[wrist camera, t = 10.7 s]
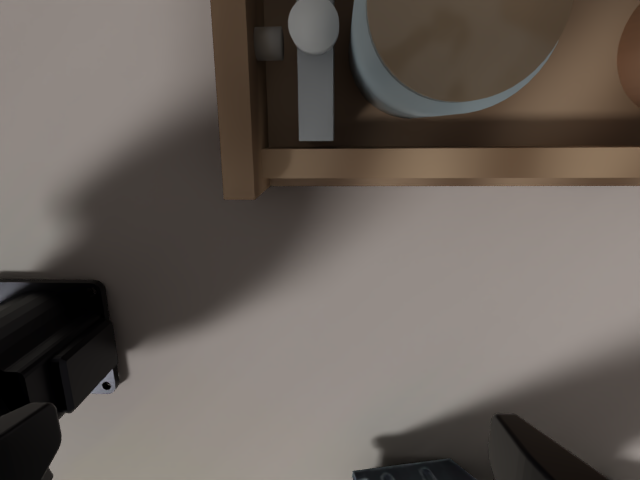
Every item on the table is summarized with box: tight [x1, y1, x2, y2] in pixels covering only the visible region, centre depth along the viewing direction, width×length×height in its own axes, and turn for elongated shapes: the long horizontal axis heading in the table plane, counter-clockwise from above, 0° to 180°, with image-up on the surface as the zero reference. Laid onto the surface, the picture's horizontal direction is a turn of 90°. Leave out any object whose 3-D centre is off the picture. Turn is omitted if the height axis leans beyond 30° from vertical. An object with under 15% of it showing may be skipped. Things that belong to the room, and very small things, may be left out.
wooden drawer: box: [210, 0, 640, 200], centre depth 16 cm, size 22×12×4 cm, turn 90°
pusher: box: [288, 0, 339, 141], centre depth 16 cm, size 2×7×5 cm, turn 0°
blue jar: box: [348, 0, 573, 119], centre depth 14 cm, size 6×6×8 cm
